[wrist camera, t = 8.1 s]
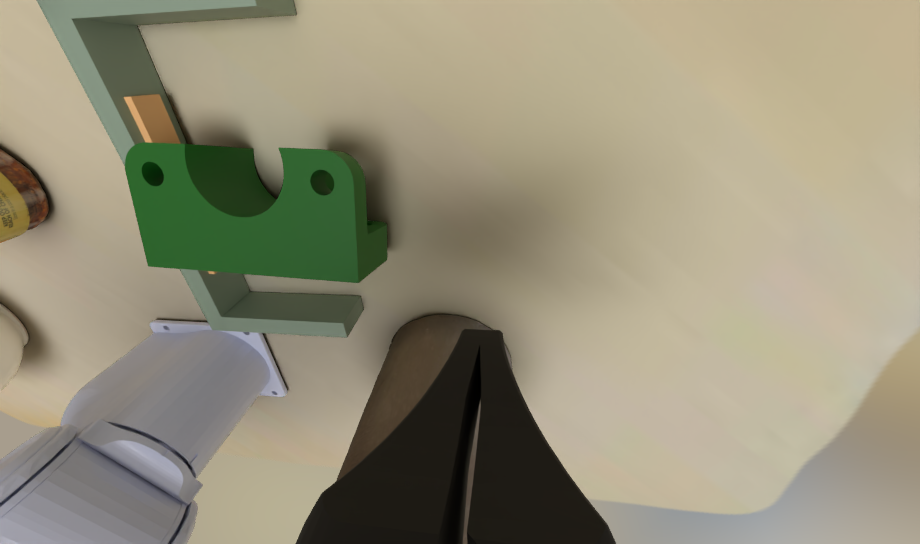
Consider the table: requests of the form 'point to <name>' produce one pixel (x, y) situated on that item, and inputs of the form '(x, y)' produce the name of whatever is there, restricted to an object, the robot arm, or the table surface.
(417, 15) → the table surface
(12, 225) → the sauce bottle
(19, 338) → the lidded bowl
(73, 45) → the bracket
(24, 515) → the robot arm
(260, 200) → the clamp
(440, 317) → the pillar candle
